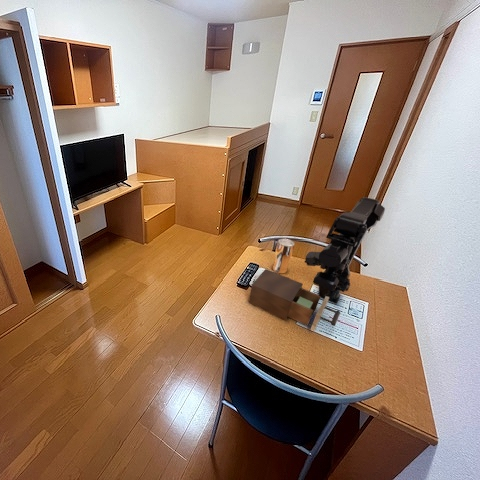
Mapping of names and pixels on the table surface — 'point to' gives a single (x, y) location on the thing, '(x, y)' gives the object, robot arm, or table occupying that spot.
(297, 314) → the drawer
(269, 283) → the cabinet
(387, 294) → the table surface
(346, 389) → the table surface
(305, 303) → the block
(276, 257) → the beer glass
